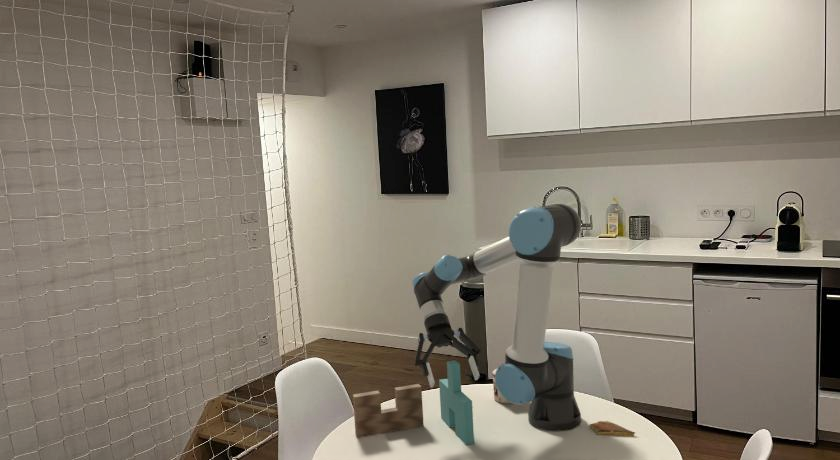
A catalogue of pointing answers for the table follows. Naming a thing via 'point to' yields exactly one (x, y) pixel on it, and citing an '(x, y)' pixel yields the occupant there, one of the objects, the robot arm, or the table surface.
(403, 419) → the walnut slotted plate
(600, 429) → the pie slice
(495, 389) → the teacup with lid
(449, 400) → the teal slotted plate
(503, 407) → the table surface
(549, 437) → the table surface
